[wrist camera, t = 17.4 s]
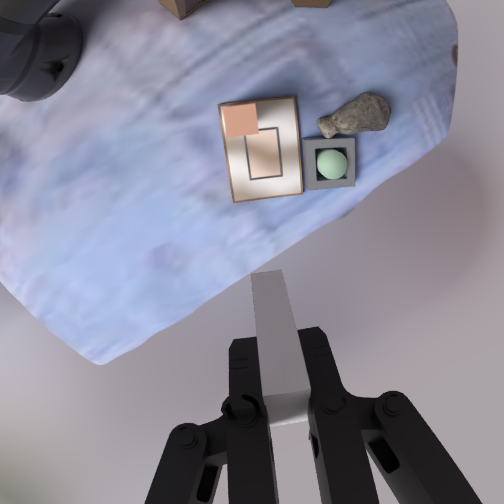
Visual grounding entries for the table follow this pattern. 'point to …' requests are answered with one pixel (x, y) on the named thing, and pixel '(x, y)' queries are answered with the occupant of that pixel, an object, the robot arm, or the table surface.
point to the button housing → (310, 162)
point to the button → (331, 163)
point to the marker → (240, 120)
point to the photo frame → (182, 3)
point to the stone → (357, 116)
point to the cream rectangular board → (265, 152)
